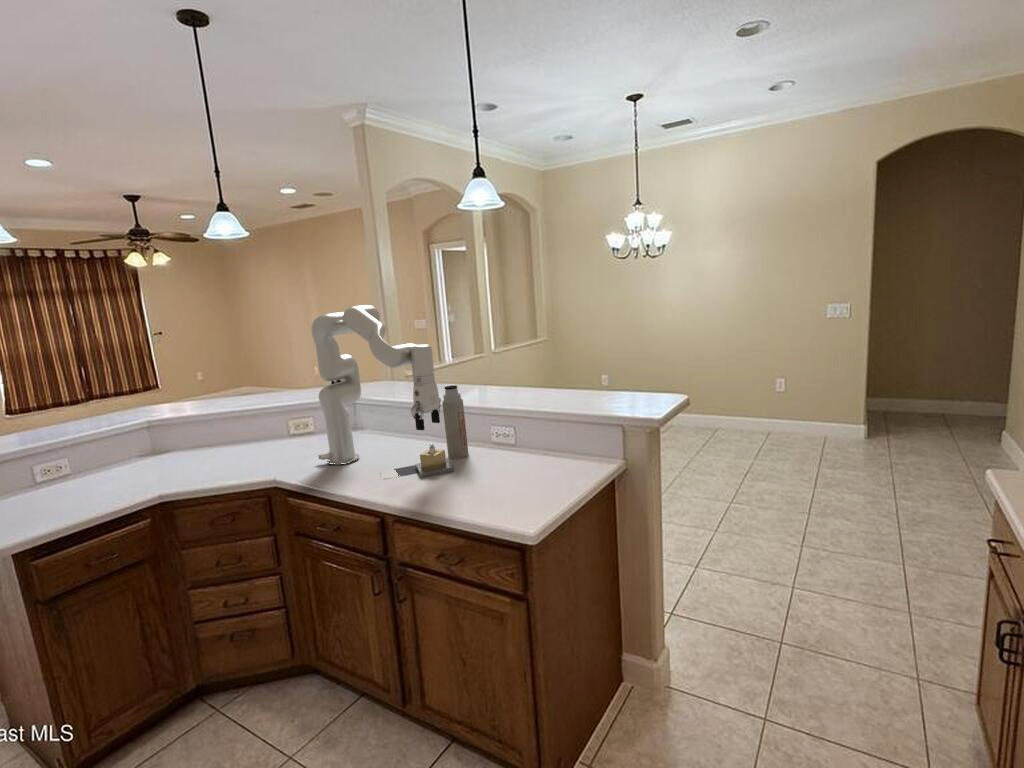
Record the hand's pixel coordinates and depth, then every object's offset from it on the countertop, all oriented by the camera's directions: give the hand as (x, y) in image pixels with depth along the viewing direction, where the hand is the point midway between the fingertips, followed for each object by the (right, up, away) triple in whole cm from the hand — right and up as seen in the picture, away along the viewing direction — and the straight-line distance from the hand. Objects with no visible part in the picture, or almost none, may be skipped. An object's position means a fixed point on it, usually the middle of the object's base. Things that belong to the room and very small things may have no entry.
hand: (428, 426), depth 191 cm
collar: (+2, -14, +2) cm, 15 cm away
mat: (-11, -17, +4) cm, 21 cm away
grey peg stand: (+2, -16, +3) cm, 17 cm away
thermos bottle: (+9, -13, +19) cm, 24 cm away
